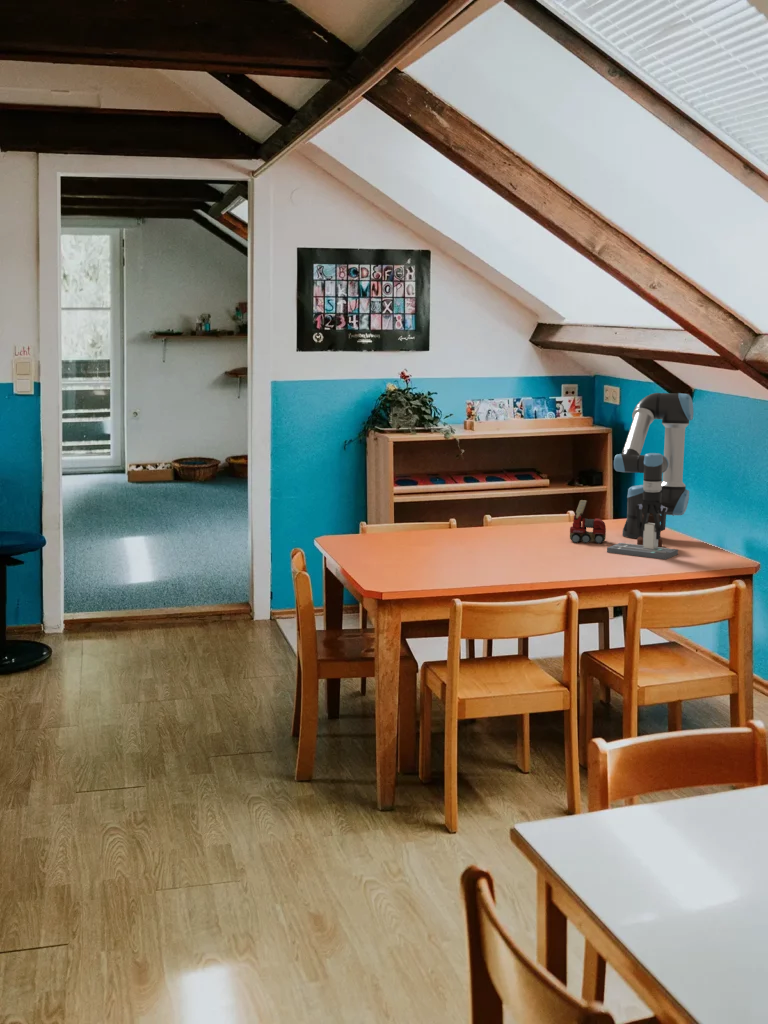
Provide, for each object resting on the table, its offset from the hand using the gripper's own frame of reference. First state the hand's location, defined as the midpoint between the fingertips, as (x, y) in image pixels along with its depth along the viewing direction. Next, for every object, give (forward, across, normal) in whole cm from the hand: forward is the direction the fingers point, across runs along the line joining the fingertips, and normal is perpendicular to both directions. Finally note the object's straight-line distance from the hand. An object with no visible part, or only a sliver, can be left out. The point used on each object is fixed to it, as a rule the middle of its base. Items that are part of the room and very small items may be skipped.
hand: (650, 546), depth 464 cm
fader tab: (+1, 0, 0) cm, 1 cm away
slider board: (+3, -4, 0) cm, 5 cm away
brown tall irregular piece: (+4, -8, +17) cm, 19 cm away
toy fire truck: (+4, -34, +12) cm, 37 cm away
